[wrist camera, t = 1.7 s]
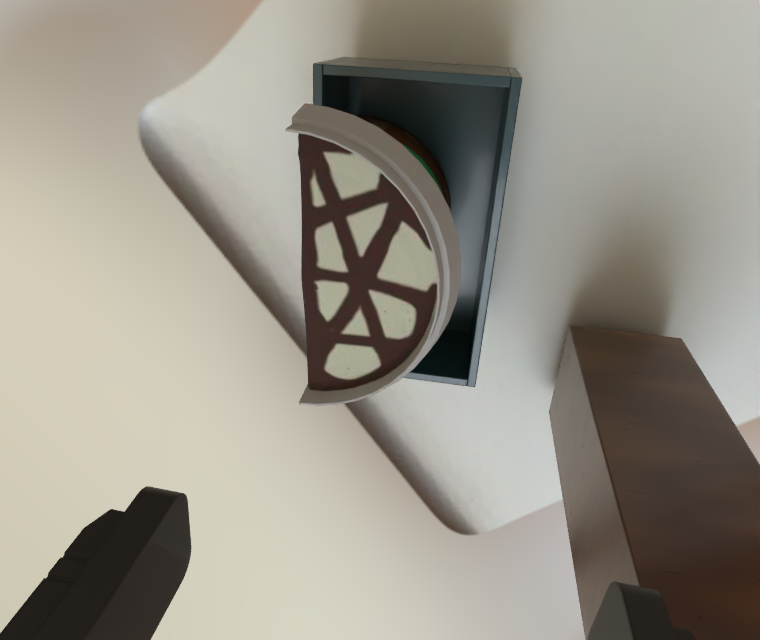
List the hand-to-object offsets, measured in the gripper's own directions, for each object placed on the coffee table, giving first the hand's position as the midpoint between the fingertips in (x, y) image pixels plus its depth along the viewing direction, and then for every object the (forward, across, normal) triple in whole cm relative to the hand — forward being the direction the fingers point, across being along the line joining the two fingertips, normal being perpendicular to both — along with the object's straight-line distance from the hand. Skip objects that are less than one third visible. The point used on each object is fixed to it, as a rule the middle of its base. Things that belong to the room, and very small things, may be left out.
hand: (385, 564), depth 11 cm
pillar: (+22, -11, +8) cm, 26 cm away
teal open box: (+22, +2, 0) cm, 22 cm away
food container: (+22, +2, 0) cm, 22 cm away
